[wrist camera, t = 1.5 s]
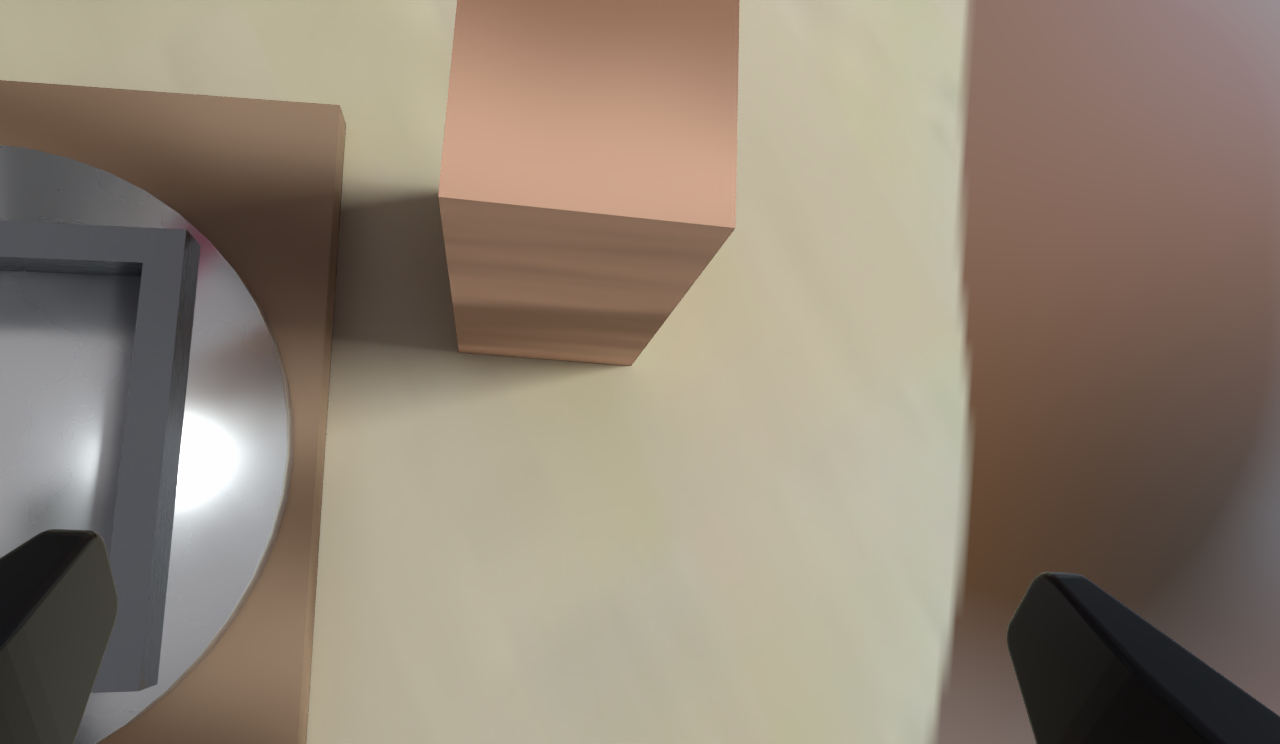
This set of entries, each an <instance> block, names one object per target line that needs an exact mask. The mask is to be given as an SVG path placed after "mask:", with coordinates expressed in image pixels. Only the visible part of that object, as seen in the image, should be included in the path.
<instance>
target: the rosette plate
mask: <svg viewBox="0 0 1280 744" xmlns="http://www.w3.org/2000/svg"><path fill="white" fill-rule="evenodd" d="M293 461H294V416H293V409H292V401H291V394H290V387H289V381H288V377H287V374H286V370H285V367H284V363H283V360H282V356H281V353H280V349H279V346H278V344H277V341H276V339H275V337H274V335H273V332H272V330H271V328H270V326H269V324H268V321H267V319H266V317H265V315H264V313H263V311H262V309H261V307H260V306H259V304H258V303H257V301H256V300H255V298H254V296H253V295H252V293H251V292H250V290H249V289H248V287H247V285H246V284H245V282H244V281H243V279H242V278H241V277H240V276H239V275H238V274H237V272H236V271H235V270H234V269H233V268H232V266H231V265H230V264H229V263H228V262H227V261H226V259H225V258H224V257H223V256H222V255H221V254H220V252H219V251H218V250H217V249H216V248H215V247H214V246H213V244H212V243H211V242H210V241H209V240H208V239H207V238H206V237H205V236H204V235H203V234H201V233H200V232H199V231H198V230H197V229H196V228H195V227H194V226H192V225H191V224H190V223H189V222H188V221H187V220H186V219H185V218H183V217H182V216H181V215H180V214H179V213H178V212H176V211H175V210H173V209H172V208H170V207H169V206H167V205H166V204H164V203H163V202H161V201H160V200H158V199H157V198H155V197H154V196H152V195H151V194H149V193H148V192H147V191H145V190H143V189H141V188H139V187H137V186H135V185H133V184H131V183H129V182H127V181H125V180H123V179H121V178H119V177H117V176H115V175H113V174H111V173H109V172H107V171H104V170H101V169H98V168H96V167H93V166H90V165H87V164H85V163H82V162H79V161H76V160H73V159H71V158H67V157H63V156H59V155H54V154H50V153H46V152H42V151H37V150H33V149H29V148H22V147H14V146H5V145H0V558H1V557H3V556H4V555H6V554H7V553H9V552H10V551H12V550H14V549H15V548H17V547H18V546H20V545H21V544H23V543H24V542H26V541H28V540H29V539H31V538H32V537H34V536H35V535H37V534H39V533H41V532H43V531H46V530H50V529H67V530H90V531H94V532H97V533H98V534H100V536H101V537H102V538H103V540H104V543H105V546H106V550H107V554H108V558H109V562H110V566H111V570H112V575H113V579H114V583H115V587H116V591H117V597H118V608H117V615H116V620H115V623H114V627H113V629H112V632H111V635H110V638H109V641H108V644H107V647H106V650H105V653H104V656H103V659H102V662H101V665H100V668H99V670H98V673H97V676H96V679H95V682H94V685H93V688H92V691H91V694H90V697H89V700H88V703H87V706H86V709H85V711H84V714H83V717H82V720H81V723H80V726H79V729H78V732H77V735H76V738H75V741H74V744H99V743H101V742H103V741H104V740H106V739H107V738H109V737H110V736H112V735H113V734H115V733H116V732H118V731H119V730H121V729H123V728H124V727H126V726H127V725H129V724H130V723H132V722H133V721H135V720H136V719H138V718H139V717H141V716H142V715H143V714H144V713H146V712H147V711H148V710H149V709H150V708H152V707H153V706H154V705H155V704H157V703H158V702H159V701H160V700H161V699H163V698H164V697H165V696H166V695H167V694H169V693H170V692H171V691H172V690H173V689H175V688H176V687H177V686H178V685H179V684H180V683H181V682H182V681H183V680H184V679H185V678H186V677H187V676H188V675H189V674H190V673H191V672H192V671H193V670H194V668H195V667H196V666H197V665H198V664H199V663H200V662H201V661H202V660H203V659H204V658H205V657H206V656H207V655H208V654H209V653H210V652H211V650H212V649H213V648H214V647H215V645H216V644H217V643H218V641H219V640H220V639H221V637H222V636H223V635H224V633H225V632H226V631H227V629H228V628H229V627H230V625H231V624H232V623H233V621H234V620H235V619H236V617H237V616H238V615H239V613H240V611H241V609H242V608H243V606H244V604H245V603H246V601H247V599H248V597H249V596H250V594H251V592H252V591H253V589H254V587H255V585H256V584H257V582H258V580H259V579H260V577H261V574H262V572H263V570H264V567H265V565H266V563H267V560H268V558H269V556H270V553H271V551H272V548H273V546H274V544H275V541H276V539H277V536H278V533H279V529H280V526H281V522H282V518H283V515H284V511H285V508H286V504H287V501H288V496H289V489H290V482H291V475H292V468H293Z"/></svg>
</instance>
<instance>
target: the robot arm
mask: <svg viewBox="0 0 1280 744" xmlns="http://www.w3.org/2000/svg"><path fill="white" fill-rule="evenodd" d="M117 608H118V597H117V591H116V587H115V583H114V579H113V575H112V570H111V566H110V562H109V558H108V554H107V550H106V546H105V543H104V540H103V538H102V537H101V536H100V534H98V533H97V532H94V531H90V530H67V529H50V530H46V531H43V532H41V533H39V534H37V535H35V536H34V537H32V538H31V539H29V540H28V541H26V542H24V543H23V544H21V545H20V546H18V547H17V548H15V549H14V550H12V551H10V552H9V553H7V554H6V555H4V556H3V557H1V558H0V744H74V741H75V738H76V735H77V732H78V729H79V726H80V723H81V720H82V717H83V714H84V711H85V709H86V706H87V703H88V700H89V697H90V694H91V691H92V688H93V685H94V682H95V679H96V676H97V673H98V670H99V668H100V665H101V662H102V659H103V656H104V653H105V650H106V647H107V644H108V641H109V638H110V635H111V632H112V629H113V627H114V623H115V620H116V615H117ZM1007 643H1008V649H1009V653H1010V656H1011V660H1012V663H1013V666H1014V670H1015V673H1016V677H1017V680H1018V683H1019V687H1020V690H1021V694H1022V697H1023V700H1024V704H1025V707H1026V711H1027V714H1028V717H1029V721H1030V724H1031V727H1032V731H1033V734H1034V738H1035V741H1036V744H1280V716H1278V715H1277V714H1276V713H1274V712H1273V711H1271V710H1270V709H1269V708H1267V707H1266V706H1265V705H1263V704H1262V703H1260V702H1259V701H1257V700H1256V699H1255V698H1253V697H1252V696H1251V695H1249V694H1248V693H1246V692H1245V691H1244V690H1242V689H1241V688H1239V687H1238V686H1237V685H1235V684H1234V683H1232V682H1231V681H1230V680H1228V679H1227V678H1225V677H1224V676H1223V675H1221V674H1220V673H1218V672H1217V671H1216V670H1214V669H1213V668H1211V667H1210V666H1209V665H1207V664H1206V663H1204V662H1203V661H1201V660H1200V659H1199V658H1197V657H1196V656H1195V655H1193V654H1192V653H1190V652H1189V651H1188V650H1186V649H1185V648H1183V647H1182V646H1181V645H1179V644H1178V643H1176V642H1175V641H1173V640H1172V639H1171V638H1170V637H1168V636H1167V635H1165V634H1164V633H1163V632H1161V631H1160V630H1158V629H1157V628H1155V627H1154V626H1153V625H1151V624H1150V623H1148V622H1147V621H1146V620H1144V619H1143V618H1141V617H1140V616H1139V615H1137V614H1136V613H1134V612H1133V611H1132V610H1130V609H1129V608H1128V607H1126V606H1125V605H1123V604H1122V603H1120V602H1119V601H1118V600H1116V599H1115V598H1114V597H1112V596H1111V595H1109V594H1108V593H1106V592H1105V591H1104V590H1102V589H1101V588H1100V587H1098V586H1097V585H1096V584H1094V583H1093V582H1091V581H1090V580H1088V579H1087V578H1085V577H1084V576H1082V575H1079V574H1075V573H1058V572H1045V573H1041V574H1039V575H1038V576H1037V577H1035V578H1034V580H1033V581H1032V583H1031V584H1030V586H1029V588H1028V590H1027V592H1026V593H1025V595H1024V597H1023V599H1022V601H1021V603H1020V604H1019V606H1018V608H1017V610H1016V612H1015V614H1014V616H1013V617H1012V619H1011V621H1010V623H1009V626H1008V630H1007Z"/></svg>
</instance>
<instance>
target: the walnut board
mask: <svg viewBox="0 0 1280 744" xmlns="http://www.w3.org/2000/svg"><path fill="white" fill-rule="evenodd" d="M345 130H346V123H345V120H344V117H343V114H342V111H341V108H340V105H330V104H316V103H303V102H289V101H275V100H262V99H248V98H234V97H221V96H207V95H194V94H180V93H166V92H153V91H139V90H125V89H112V88H98V87H85V86H71V85H57V84H44V83H30V82H16V81H3V80H0V145H5V146H14V147H22V148H29V149H33V150H37V151H42V152H46V153H50V154H54V155H59V156H63V157H67V158H71V159H73V160H76V161H79V162H82V163H85V164H87V165H90V166H93V167H96V168H98V169H101V170H104V171H107V172H109V173H111V174H113V175H115V176H117V177H119V178H121V179H123V180H125V181H127V182H129V183H131V184H133V185H135V186H137V187H139V188H141V189H143V190H145V191H147V192H148V193H149V194H151V195H152V196H154V197H155V198H157V199H158V200H160V201H161V202H163V203H164V204H166V205H167V206H169V207H170V208H172V209H173V210H175V211H176V212H178V213H179V214H180V215H181V216H182V217H183V218H185V219H186V220H187V221H188V222H189V223H190V224H191V225H192V226H194V227H195V228H196V229H197V230H198V231H199V232H200V233H201V234H203V235H204V236H205V237H206V238H207V239H208V240H209V241H210V242H211V243H212V244H213V246H214V247H215V248H216V249H217V250H218V251H219V252H220V254H221V255H222V256H223V257H224V258H225V259H226V261H227V262H228V263H229V264H230V265H231V266H232V268H233V269H234V270H235V271H236V272H237V274H238V275H239V276H240V277H241V278H242V279H243V281H244V282H245V284H246V285H247V287H248V289H249V290H250V292H251V293H252V295H253V296H254V298H255V300H256V301H257V303H258V304H259V306H260V307H261V309H262V311H263V313H264V315H265V317H266V319H267V321H268V324H269V326H270V328H271V330H272V332H273V335H274V337H275V339H276V341H277V344H278V346H279V349H280V353H281V356H282V360H283V363H284V367H285V370H286V374H287V377H288V381H289V387H290V394H291V401H292V409H293V416H294V461H293V468H292V475H291V482H290V489H289V496H288V501H287V504H286V508H285V511H284V515H283V518H282V522H281V526H280V529H279V533H278V536H277V539H276V541H275V544H274V546H273V548H272V551H271V553H270V556H269V558H268V560H267V563H266V565H265V567H264V570H263V572H262V574H261V577H260V579H259V580H258V582H257V584H256V585H255V587H254V589H253V591H252V592H251V594H250V596H249V597H248V599H247V601H246V603H245V604H244V606H243V608H242V609H241V611H240V613H239V615H238V616H237V617H236V619H235V620H234V621H233V623H232V624H231V625H230V627H229V628H228V629H227V631H226V632H225V633H224V635H223V636H222V637H221V639H220V640H219V641H218V643H217V644H216V645H215V647H214V648H213V649H212V650H211V652H210V653H209V654H208V655H207V656H206V657H205V658H204V659H203V660H202V661H201V662H200V663H199V664H198V665H197V666H196V667H195V668H194V670H193V671H192V672H191V673H190V674H189V675H188V676H187V677H186V678H185V679H184V680H183V681H182V682H181V683H180V684H179V685H178V686H177V687H176V688H175V689H173V690H172V691H171V692H170V693H169V694H167V695H166V696H165V697H164V698H163V699H161V700H160V701H159V702H158V703H157V704H155V705H154V706H153V707H152V708H150V709H149V710H148V711H147V712H146V713H144V714H143V715H142V716H141V717H139V718H138V719H136V720H135V721H133V722H132V723H130V724H129V725H127V726H126V727H124V728H123V729H121V730H119V731H118V732H116V733H115V734H113V735H112V736H110V737H109V738H107V739H106V740H104V741H103V742H101V743H99V744H306V739H307V723H308V707H309V692H310V676H311V661H312V645H313V629H314V614H315V598H316V583H317V567H318V551H319V536H320V520H321V505H322V489H323V473H324V458H325V442H326V427H327V411H328V395H329V380H330V364H331V348H332V333H333V317H334V302H335V286H336V270H337V255H338V239H339V224H340V208H341V192H342V177H343V161H344V146H345Z"/></svg>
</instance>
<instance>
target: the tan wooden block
mask: <svg viewBox="0 0 1280 744" xmlns="http://www.w3.org/2000/svg"><path fill="white" fill-rule="evenodd" d="M738 49H739V0H457V8H456V19H455V29H454V39H453V50H452V60H451V70H450V81H449V91H448V101H447V112H446V122H445V132H444V142H443V153H442V163H441V173H440V184H439V194H438V199H439V206H440V214H441V221H442V229H443V236H444V244H445V251H446V259H447V266H448V274H449V281H450V289H451V296H452V304H453V311H454V319H455V326H456V334H457V341H458V349H459V352H461V353H474V354H487V355H500V356H513V357H526V358H539V359H551V360H564V361H577V362H590V363H603V364H616V365H629V366H631V365H632V364H633V363H634V361H635V360H636V359H637V357H638V356H639V355H640V353H641V352H642V351H643V349H644V348H645V347H646V345H647V344H648V343H649V342H650V340H651V339H652V338H653V336H654V335H655V334H656V332H657V331H658V330H659V328H660V327H661V326H662V324H663V323H664V322H665V320H666V319H667V318H668V316H669V315H670V314H671V312H672V311H673V310H674V308H675V307H676V306H677V305H678V303H679V302H680V301H681V299H682V298H683V297H684V295H685V294H686V293H687V291H688V290H689V289H690V287H691V286H692V285H693V283H694V282H695V281H696V279H697V278H698V277H699V275H700V274H701V273H702V271H703V270H704V269H705V267H706V266H707V265H708V264H709V262H710V261H711V260H712V258H713V257H714V256H715V254H716V253H717V252H718V250H719V249H720V248H721V246H722V245H723V244H724V242H725V241H726V240H727V238H728V237H729V236H730V234H731V233H732V232H733V230H734V229H735V221H736V164H737V106H738Z"/></svg>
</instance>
